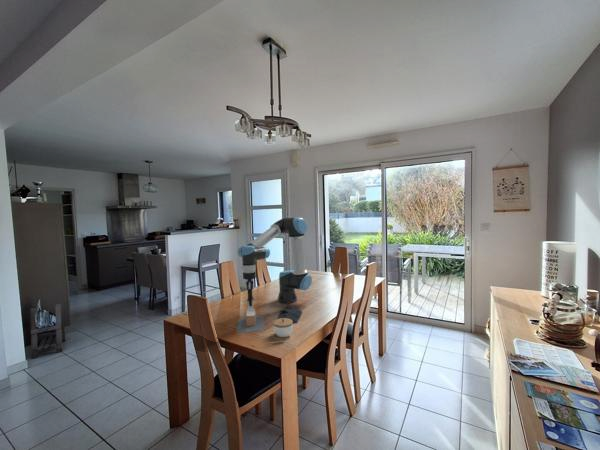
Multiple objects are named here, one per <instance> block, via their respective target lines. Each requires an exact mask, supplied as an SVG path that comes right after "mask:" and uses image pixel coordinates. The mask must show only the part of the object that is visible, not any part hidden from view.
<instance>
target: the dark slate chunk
mask: <svg viewBox="0 0 600 450" xmlns="http://www.w3.org/2000/svg"><path fill="white" fill-rule="evenodd" d="M302 314H303V311H302V310H300V309H298V308H297V307H295V306H292V305H289V304H288V305H286V306H285V309H282V310H280V311H279V314H278V317H277V319H280V318H288V319H291V320H292V321H293V324H297V323H298V322H299V320H300V319H301V316H302Z"/></svg>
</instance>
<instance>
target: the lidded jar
mask: <svg viewBox="0 0 600 450" xmlns="http://www.w3.org/2000/svg"><path fill="white" fill-rule="evenodd" d="M293 324H294V323H293V321H292V320H291V319H288V318H280V319H278V318H277V319H275V320H273V330H274V333H275V335H276V336H277V337H280V338H287V337H289V336H290V335H291V333H292V331H293V329H294V328H293V326H294V325H293Z"/></svg>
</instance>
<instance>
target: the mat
mask: <svg viewBox="0 0 600 450" xmlns="http://www.w3.org/2000/svg"><path fill="white" fill-rule="evenodd" d="M236 327H237V328H236V331H235V332H236V334H237V333H238V334H239V333H240V334H241V333H251V332H259V331H266V328H265V327H266V326H265V316H264V315H261V316H255V326H247V319H246V317H242V318H241V317H239V318H238V322H237V326H236Z"/></svg>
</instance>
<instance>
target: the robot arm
mask: <svg viewBox="0 0 600 450" xmlns="http://www.w3.org/2000/svg"><path fill="white" fill-rule="evenodd" d="M307 230H308V224H307V222H306V220H305V219H304V218H303V217H284V218H281V219H279V220H277V221H276V222H274V223H273V224H271V225H270V227H269V228H268V229H267V230H266V231H264V232H263V233H261V234H260V235H258V236H257V237H256V238H254V239H253V240H252V241H251V242H249V243H247V244H246V245H241V246H239V247H238V249H237V255H238V257H240V258H241V259H242V262H241V263H242V266H241V269H242V272H243V273H242V279H244V280H246V282H245V284H246V290H247V300H246V301H247V304H248V305H247V307H248V312H249V311H253V309H254V303H253V302H254V296H253V289H254V279H256V278H257V272H256V268H257V267H256V261H260V260H265V259H268V258H269V257H270V255H271V251H270V249H269V247H267V244H268V243H270V242H271V241H272V240H273V239H275V238H276V237H280V236H281V235H283V234H288V238H290V241H291V242H290V243H291V253H292V263H293V269H290V270H288V269H287V270H282V271H280V272H279V275H278V280H279V281H278V282H279V284H278V285H279V292H278V296H277V302H278V303H281V304H292V303H296V302H298V296H297V293H296V290H300V291H307V290H309V289H310V287H311V286H312V281H313V278H312V275H310V274H309V272H308V269H306V261H305V259H306V258H305V248H304V236H305V234H306V232H307Z"/></svg>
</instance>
